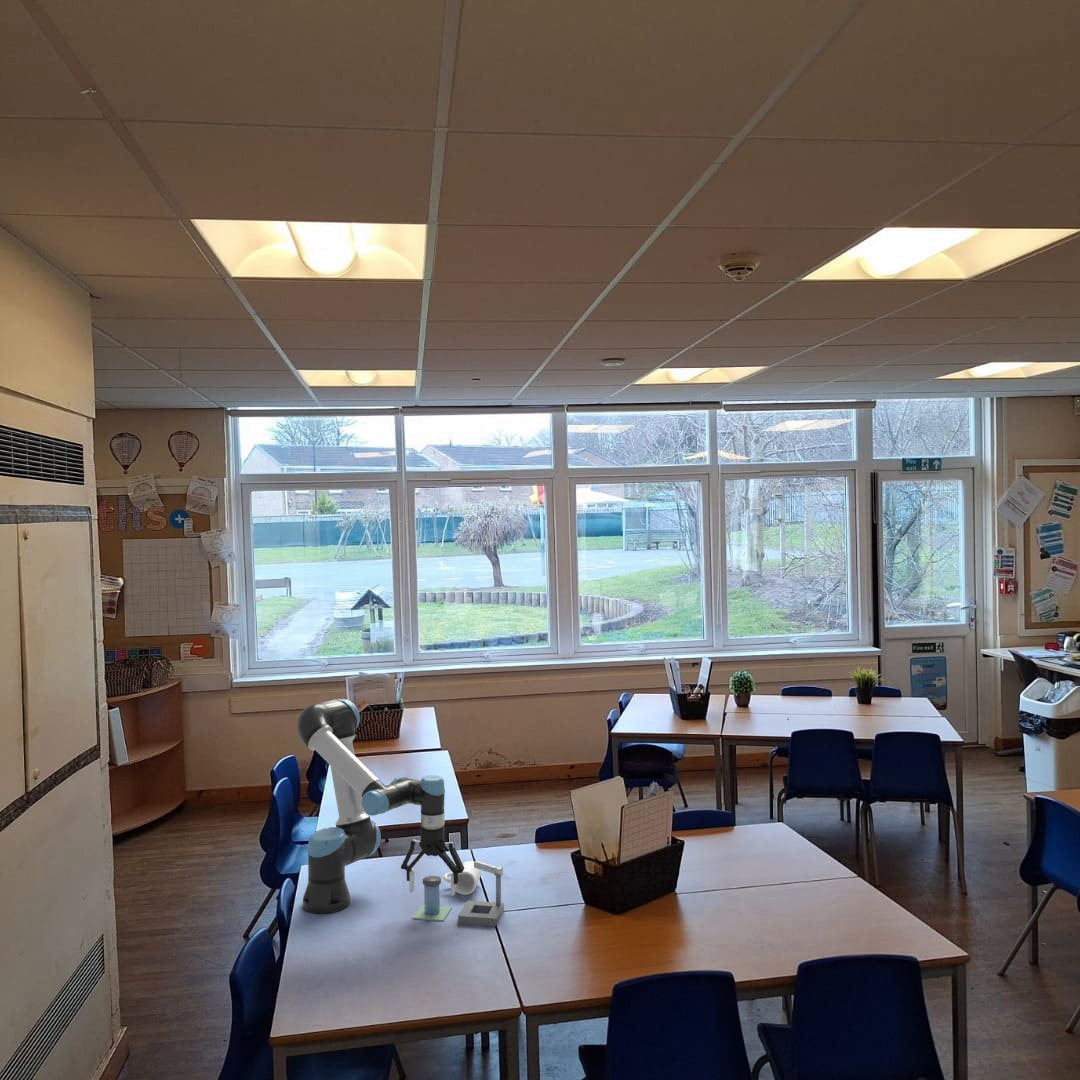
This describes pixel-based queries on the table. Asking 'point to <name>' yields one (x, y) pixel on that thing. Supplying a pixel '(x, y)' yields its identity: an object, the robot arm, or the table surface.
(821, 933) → the table surface
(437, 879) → the plug
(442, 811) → the robot arm
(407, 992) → the table surface
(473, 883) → the mug
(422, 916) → the mat
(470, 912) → the socket
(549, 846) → the table surface
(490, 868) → the lever
